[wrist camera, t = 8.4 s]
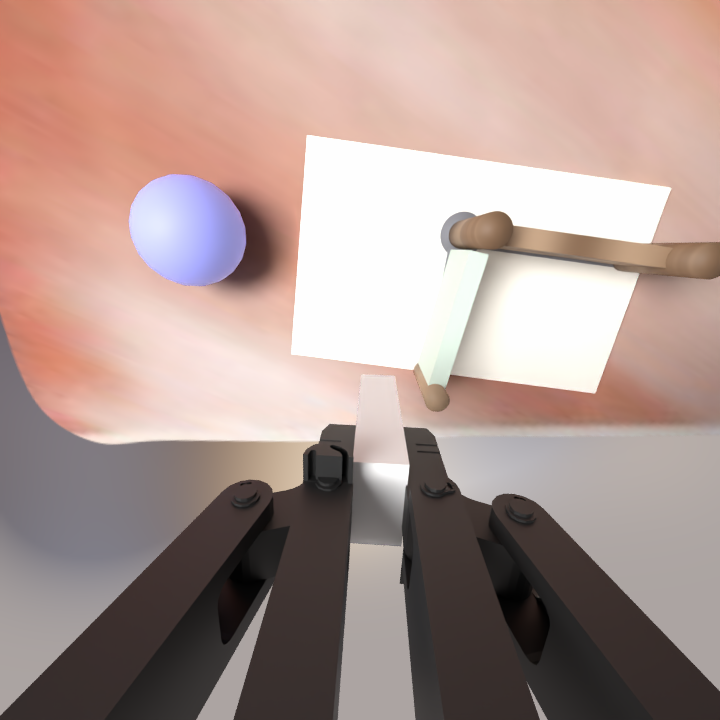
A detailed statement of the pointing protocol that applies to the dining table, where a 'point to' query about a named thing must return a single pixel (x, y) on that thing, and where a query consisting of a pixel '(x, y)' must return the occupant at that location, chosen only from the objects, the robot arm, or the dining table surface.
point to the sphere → (187, 230)
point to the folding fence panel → (448, 325)
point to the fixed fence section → (588, 247)
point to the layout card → (431, 252)
